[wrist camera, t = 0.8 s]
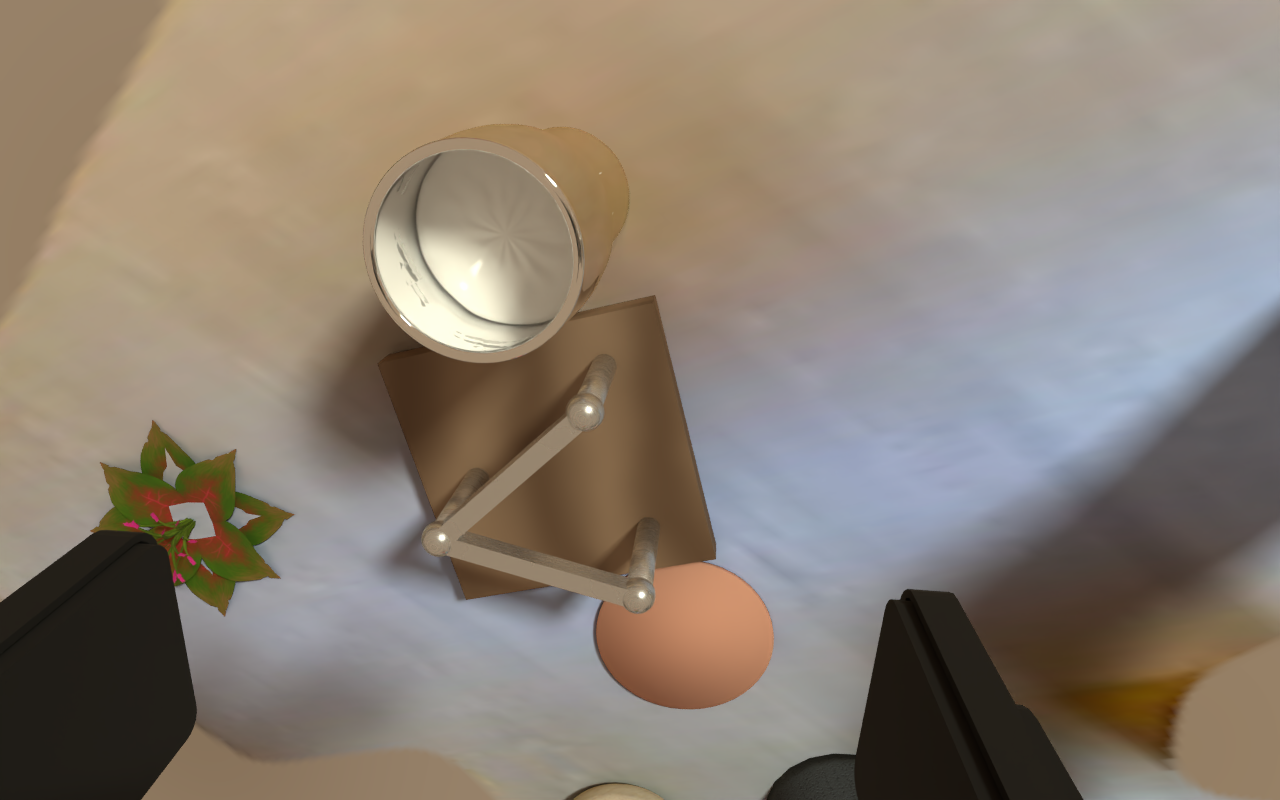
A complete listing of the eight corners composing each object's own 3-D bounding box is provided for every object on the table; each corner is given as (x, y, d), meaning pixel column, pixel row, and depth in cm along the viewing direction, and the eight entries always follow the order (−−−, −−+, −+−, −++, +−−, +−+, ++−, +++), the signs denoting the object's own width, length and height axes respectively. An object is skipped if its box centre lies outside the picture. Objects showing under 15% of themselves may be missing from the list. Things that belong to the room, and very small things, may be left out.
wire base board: (655, 295, 38) (652, 302, 37) (715, 544, 43) (715, 559, 41) (389, 354, 40) (377, 363, 39) (473, 584, 45) (466, 599, 44)
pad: (754, 545, 42) (754, 548, 42) (787, 693, 46) (788, 697, 45) (576, 574, 44) (575, 578, 44) (621, 715, 47) (620, 719, 47)
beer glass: (556, 298, 39) (465, 412, 25) (461, 181, 37) (305, 233, 23) (669, 209, 37) (641, 279, 23) (574, 82, 35) (479, 73, 21)
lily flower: (66, 527, 47) (1, 570, 43) (146, 379, 43) (83, 410, 39) (242, 638, 49) (197, 690, 44) (335, 506, 45) (294, 549, 40)
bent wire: (616, 346, 38) (595, 397, 31) (667, 538, 41) (658, 618, 35) (429, 386, 39) (374, 442, 33) (494, 567, 43) (455, 649, 36)
